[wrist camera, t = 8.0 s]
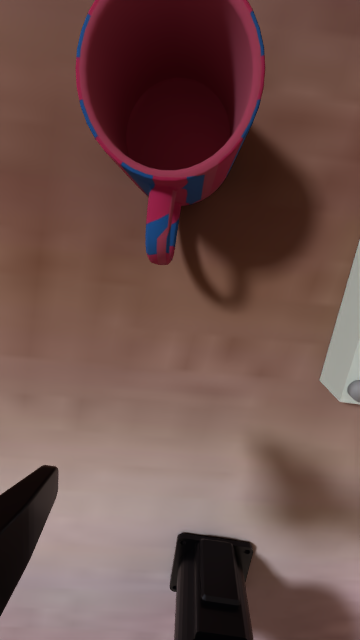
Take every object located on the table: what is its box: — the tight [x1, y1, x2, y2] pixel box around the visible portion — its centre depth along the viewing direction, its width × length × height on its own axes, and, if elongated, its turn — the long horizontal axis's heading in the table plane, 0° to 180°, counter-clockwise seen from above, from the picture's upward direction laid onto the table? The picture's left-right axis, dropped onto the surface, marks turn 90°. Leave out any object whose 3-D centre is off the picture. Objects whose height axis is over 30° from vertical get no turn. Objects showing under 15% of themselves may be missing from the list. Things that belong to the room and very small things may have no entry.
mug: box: [76, 0, 265, 265], centre depth 13 cm, size 7×10×7 cm
